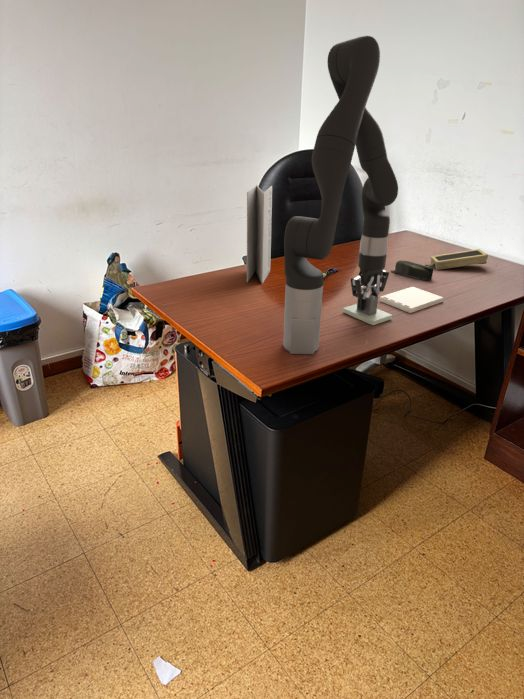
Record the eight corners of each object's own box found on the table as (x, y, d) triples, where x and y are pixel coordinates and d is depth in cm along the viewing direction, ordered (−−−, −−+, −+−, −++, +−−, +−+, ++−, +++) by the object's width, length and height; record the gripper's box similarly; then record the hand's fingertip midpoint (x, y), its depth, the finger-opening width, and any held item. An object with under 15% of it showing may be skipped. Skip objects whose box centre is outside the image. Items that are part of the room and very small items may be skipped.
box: (488, 267, 195) (488, 254, 193) (427, 276, 196) (427, 263, 194) (479, 260, 202) (479, 248, 200) (421, 270, 203) (420, 257, 201)
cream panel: (412, 290, 175) (412, 286, 174) (442, 301, 167) (443, 297, 166) (379, 301, 166) (380, 296, 166) (410, 313, 158) (410, 308, 157)
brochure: (262, 283, 179) (264, 193, 165) (246, 282, 180) (246, 192, 166) (270, 270, 191) (272, 185, 178) (255, 269, 192) (256, 185, 179)
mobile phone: (434, 266, 184) (395, 257, 192) (431, 268, 182) (391, 259, 190) (432, 280, 186) (393, 270, 194) (429, 282, 184) (389, 272, 192)
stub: (361, 306, 162) (363, 286, 159) (391, 319, 153) (394, 298, 150) (342, 312, 157) (344, 292, 154) (372, 325, 149) (375, 304, 146)
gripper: (380, 243, 153) (373, 299, 160) (345, 251, 145) (340, 309, 153) (400, 250, 147) (392, 306, 155) (365, 258, 140) (359, 317, 147)
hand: (366, 307), depth 154 cm, fingers open, 4 cm apart
